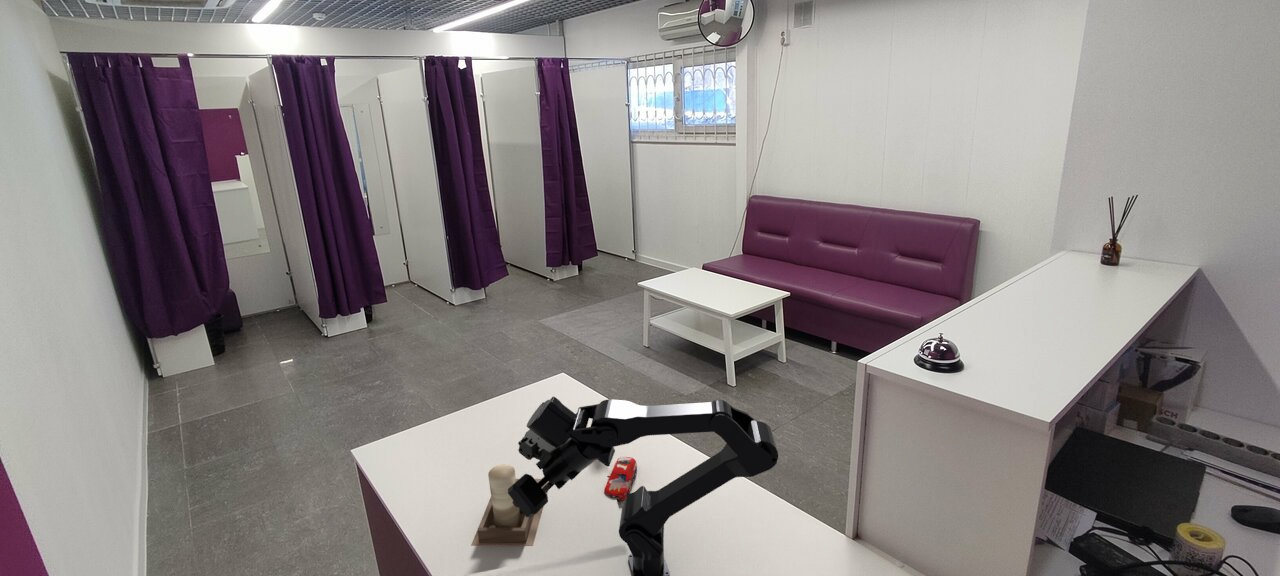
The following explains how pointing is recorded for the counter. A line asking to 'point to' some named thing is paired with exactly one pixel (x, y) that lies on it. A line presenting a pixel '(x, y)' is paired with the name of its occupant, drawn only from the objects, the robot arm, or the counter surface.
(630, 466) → the race car
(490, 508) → the jig board
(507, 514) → the post
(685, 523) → the counter surface
